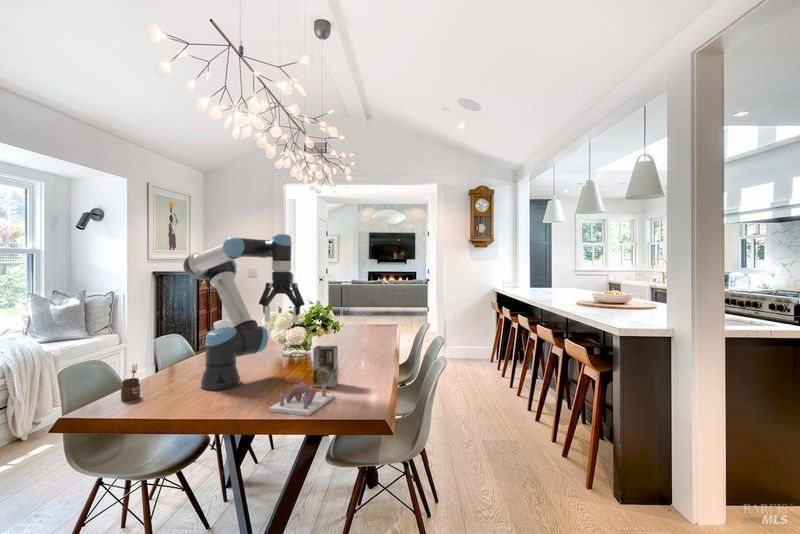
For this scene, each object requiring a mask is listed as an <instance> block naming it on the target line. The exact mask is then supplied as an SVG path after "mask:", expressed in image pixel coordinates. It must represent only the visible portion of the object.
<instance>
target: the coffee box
mask: <svg viewBox="0 0 800 534" xmlns="http://www.w3.org/2000/svg"><path fill="white" fill-rule="evenodd" d="M312 357H313V358H312V359H313V360H312V363H313V364H312V366H313V367H312V368H313V369H312V370H313V373H312V374H313V377H312V379H313V381H312V382H313V383H312V385H313V386H312V387H313V388H322V385H326V388H335V387H336V386H337V385H338V382H339V381H338V379H339V378H338V376H339V375H338V369H339V368H338V366H339V365H338V345H317V346H315V347H313V348H312Z"/></svg>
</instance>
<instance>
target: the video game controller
mask: <svg viewBox="0 0 800 534" xmlns="http://www.w3.org/2000/svg"><path fill="white" fill-rule="evenodd" d="M316 392H317V391H316V388H315V387H313V386H311V385H309V384H305V383H304V384H300V383H299V384H294V385H293V386H292V387H291V389H290V390H289V393H288V394H287V396H286V397H285V398H286V401H287V402H290V401H291V400H292V399H293V397H294V396H295V399H296V400H298V401H299V400H301V399H302V394H301V393H306V394H305V395H304V396H308V405H309V404H310V403H311V402H312V400H313V398H314V396H315V394H316ZM304 396H303V400H304Z"/></svg>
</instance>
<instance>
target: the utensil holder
mask: <svg viewBox="0 0 800 534" xmlns="http://www.w3.org/2000/svg"><path fill="white" fill-rule="evenodd" d="M131 368H132V369H131V372H130V370H126V371H124V374H123V375H124V377H128V375H129V378H124V379H123V380H122V382H121V384H122V386H121V388H120V399H121V401H124V402H126V401H134V400H137V399H140V396H141V385H140V384H141V383H140V379H139V378H138V377H135V374H137V371H138V364H132V365H131ZM127 373H128V375H127ZM130 373H131V376H130ZM125 374H126V375H125Z"/></svg>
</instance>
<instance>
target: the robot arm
mask: <svg viewBox="0 0 800 534" xmlns="http://www.w3.org/2000/svg"><path fill="white" fill-rule="evenodd" d="M292 244H293V243H292V237H291V235H290V234H287V233H285V234H284V233H283V234H281V233H276V234H273V235H272V239H255V238H244V237H242V238H241V237H237V236H236V237H227V238H225V240H224V241H223V244H221V245H219V246H216V247H214V248H211V249H209V250H206V251H204V252H194V253H192V254H190V255H188V256H187V257H186V258H185V259H184V262H183V266H182V267H183V270H184V272H185V274H186V275H187V276H189V277H191V278H192V279H197V280H208V282H209V284H210V285H211V286H212V287H215V289H216V291H217V294H218V296H219V298H220V301H221V303H222V305H223V308H224V310H225V312H226V314H227V317H228V319H229V322H230V324H231V326H228V327H220V328H216V329H211V330H210V331H208V332H207V334H206V335H205V343H204V344H205V367H204V368H205V369H204V372H203V374H202V379H200V380H201V381H200V388H201V389H203V390H205V391H207V390H208V391H218V390H221V391H222V390H227V389H231V388H235V387H237V386H239V385H240V384H241V377H240V374H239V371H238V367H237V358H238V357H243V356H249V355H256V354H258V353H261V352H263V351H264V350H265V349H266V348H267V346H268V341H269V333H268V331H267V330H268V329H266V327H264V326H261V325H260V326H259V324H258V322H257V320H256V319H252V317H251V315H250V312H249V311H248V308H247V306H246V304H245V302H244V299H243V298H242V295H241V293H240V291H239V289H238V286H237V284H236V282H235V278H236V275H237V269H238V268H237V263H236V261H235V260H237V259H239V258H244V257H245V258H261V259H266V258H272V259H271V260H272V263H271V265H272V268H271V269H272V270H271V271H272V273H271V275H272V276H271V277H272V278H271V280H272V282H266V283H265V288H264V290H263V292H262V295H261V296H260V299H259V301H258V304H259V305H260V306H261V305H262V308H263V309H262V311H263V312H262V313H263V314H264V323H265V322H266V323H267V322H271V306H270V303H271V302H272V300H273V299H274V298H275V297H276V296H277V295H279V294H281V295H283V294H284V295H286V296H287V297H288V299H289V300H290V302H291V303H292V305H294V307H292V311H293V312H292V320H293V321H292V323H293V324H298V323H299V315H300V314H301V307H303V306H305V301H304V299H303V296H302V294H301V292H300V290H299V285H298V283H297V282H293V283H291V280H292V272H291V270H292ZM291 289H292V290H291Z"/></svg>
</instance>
